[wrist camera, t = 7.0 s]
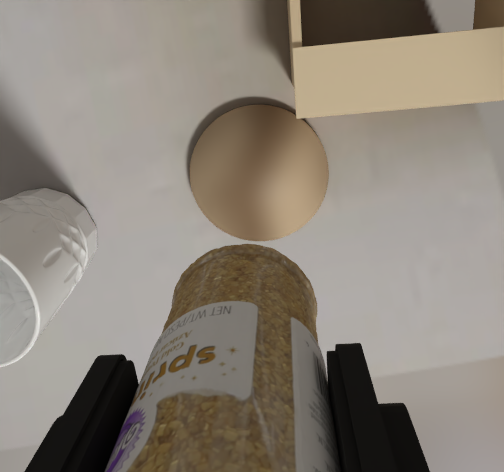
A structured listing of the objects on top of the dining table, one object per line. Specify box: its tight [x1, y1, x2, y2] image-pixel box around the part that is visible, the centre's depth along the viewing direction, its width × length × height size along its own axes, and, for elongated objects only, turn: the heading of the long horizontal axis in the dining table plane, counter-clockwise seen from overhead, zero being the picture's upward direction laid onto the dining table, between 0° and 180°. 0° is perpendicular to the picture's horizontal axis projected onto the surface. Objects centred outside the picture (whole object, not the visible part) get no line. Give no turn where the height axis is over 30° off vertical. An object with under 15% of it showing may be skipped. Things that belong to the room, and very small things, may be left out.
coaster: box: [190, 104, 329, 241], centre depth 30 cm, size 9×9×1 cm
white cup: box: [0, 188, 98, 367], centre depth 27 cm, size 8×8×10 cm
